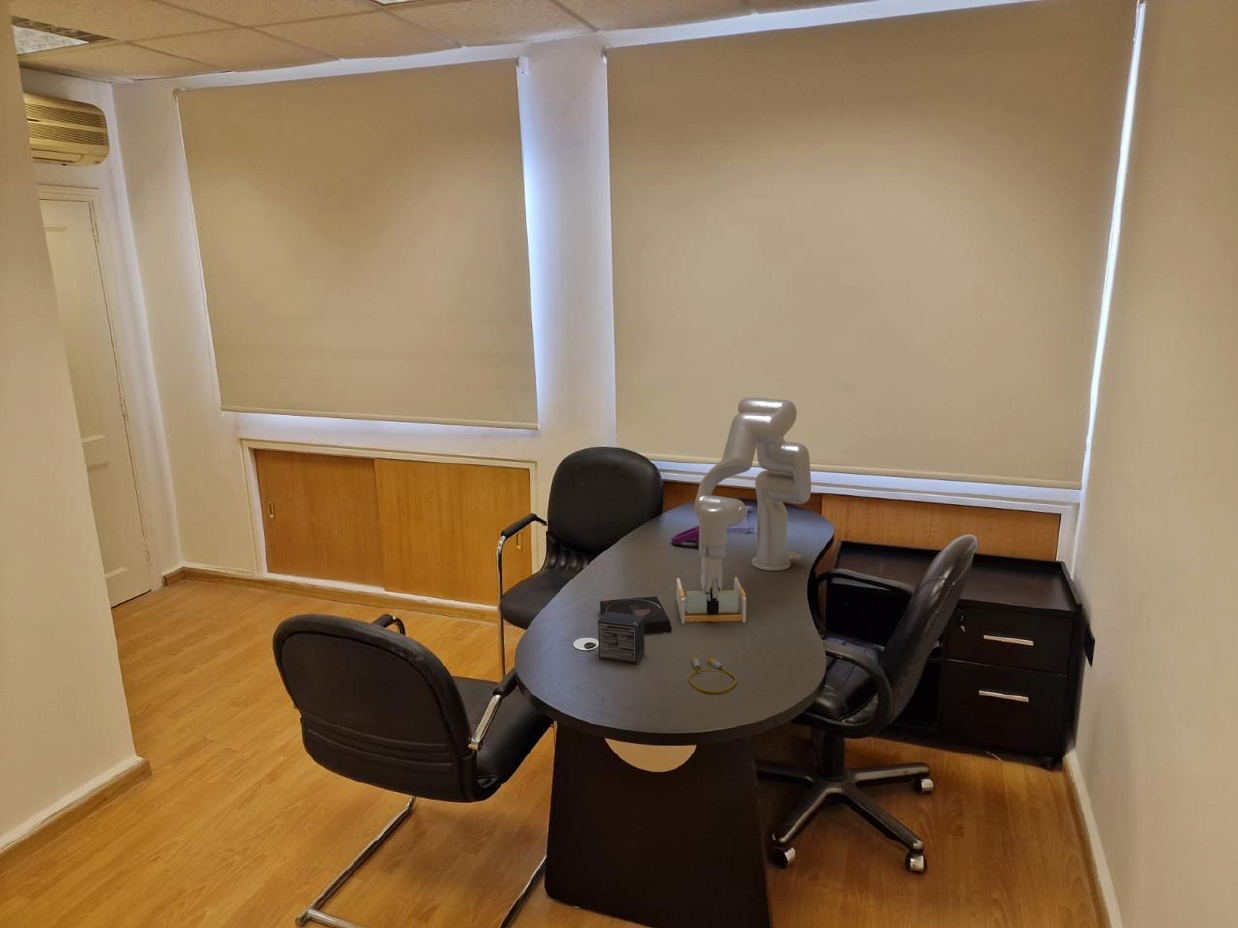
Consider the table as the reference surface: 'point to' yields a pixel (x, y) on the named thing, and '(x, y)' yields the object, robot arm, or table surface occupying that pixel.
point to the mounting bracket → (686, 536)
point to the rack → (741, 610)
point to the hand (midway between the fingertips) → (712, 610)
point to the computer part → (742, 524)
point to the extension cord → (712, 663)
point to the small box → (621, 637)
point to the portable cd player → (641, 612)
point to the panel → (698, 603)
